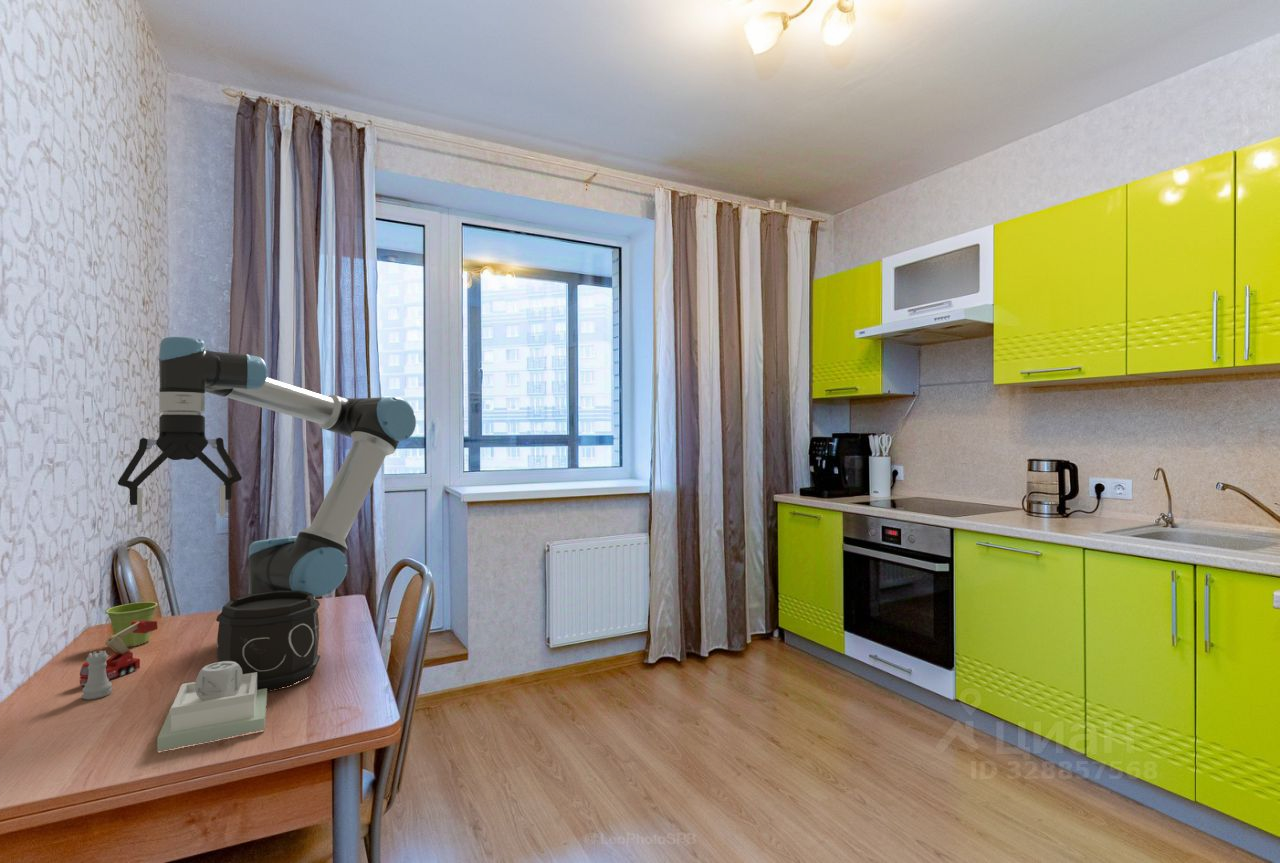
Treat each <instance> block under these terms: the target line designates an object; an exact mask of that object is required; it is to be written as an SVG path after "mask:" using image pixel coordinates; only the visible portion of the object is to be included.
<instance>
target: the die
mask: <svg viewBox="0 0 1280 863" xmlns="http://www.w3.org/2000/svg"><path fill="white" fill-rule="evenodd" d="M242 677H243V673H242V668H241V667H240V666H239V665H238V664H237V663H236V662H233V661H223V662H218V661H217V662H213V663H210V664H206V665H205V666H204V667H202V668H201V669H200V670H199V672H198V674H197V676H196V679H195V682H196V683H195V691H196V694H197V696H198V697H199V698H200V699H201V700H203V701H206V700H212V699H217V698H223V697H229V696H234V695H235V694H236V693H237V692H238V691H239V689H240V686H241V683H242Z"/></svg>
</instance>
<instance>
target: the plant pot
mask: <svg viewBox="0 0 1280 863" xmlns="http://www.w3.org/2000/svg"><path fill="white" fill-rule="evenodd" d="M156 607H158V603H157V602H154V601H141V602H133V603H126V604H122V605H117V606H112V607H110V608H108V609H106V610H105V613H106V614H108V618H109V620H110V621H111V622H110V623H111V627H112V632H113V636H114V635H116V634H117V633H119V632H121V631H123V630H125V629H126V628H128V627H130V626H131V623H132V622H133V621H153V618H154V613H155V612H156ZM150 636H151V632H148V633H133V632H131V633H129V634H128V635H126V636H124V637H122V638H121V640H122V641H123V643H124V644H125V645H126V646H127V648H129V647H128V646H134V647H136V646H135V645H138V646H141V645H140V644H142V645H144V644H143V643H145V644H146V643H147V641H148V642H149V641H150Z"/></svg>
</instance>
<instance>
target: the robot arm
mask: <svg viewBox="0 0 1280 863" xmlns="http://www.w3.org/2000/svg"><path fill="white" fill-rule="evenodd" d="M205 343H206V342H204V340H203V339H199V338H194V337H188V336H187V337H185V336H168V337H165V338H162V340H161V341H160V344H159V346H160V347H159V350H158V351H159V352H158V361H159V362H158V366H159V367H158V370H159V372H158V373H159V392H158V393H159V394H158V395H159V402H158V405H159V408H158V409H159V410H158V411H159V412H160V413H162V414H161V415H160V416H158V418H159V419H158V425H159V426H158V427H159V428H158V429H159V430H158V434H159V435H158V438H157V439H152V438H146V437H142V438H140V439H139V442H138V448H137V450H136V452H135V454H134V455H133V457H132V459H131V460H130V462H129V463H128V465H127V466H126V468H125V470H124V471H123V472H122V474H121V476H120V477H119V479H118V480H117V485H118V486H120V487H125V488H128V490H129V504H130V506H136V508H137V509H136V516H137V517H136V522H137V523H142V522H143V487H139V486H140V485H141V484H142V483H143V482H144V481H145V480H146V479H147V478H149V476H150V475H152V473H153V472H154V471H155V470H156V469H158V468H159V467H160V465H162V463H164V462H165V461H166V460H167V459H170V460H173V461H179V460H185V461H187V460H188V461H191V460H195V459H196V458H197V459H198V460H200V462H202V463H203V464H204V465H205V466H206V467H207V468H208V469H209V470H210V471H211V472H212V473H213V474H215V476H216V477H218V478H219V479H220V480H221V481H222V482H223V484H219V516H220V517H226V501H227V500H232V494H233V493H232V490H233V488H232V485H233V484H235V483H236V482H240V481H241V480H242V479H243V478H242V475H241V474H240V471H239V470H238V468H237V467H236V465H235V463H234V462H233V460H232V458H231V457H230V454H228V452H227V450H226V449H225V444H224V439H223V438H222V437H217V438H210V439H209V438H206V417H205V416H204V415H202V413H205V411H206V408H205V407H206V406H205V405H206V396H205V395H206V394H205V393H209V394H212V395H215V396H220V397H224V398H227V399H232V400H235V401H237V402H241V403H245V404H249V405H252V406H255V407H258V408H263V409H266V410H270V411H273V412H275V413H276V412H277V413H279V414H283V415H287V416H291V417H295V418H298V419H302V420H305V421H308V422H312V423H315V424H317V425H318V426H319V428H321V429H323V430H326V431H330V432H333V433H336V434H339V435H342V436H345V437H348V438H351V439H352V441H353V443H352V445H351V447H350V449H349V450H348V453H347V455H346V456H345V459H344V461H343V462H342V465H341V466H340V468H339V470H338V471H337V474H336V476H335V477H334V479H333V482H332V484H331V486H330V487H329V490H328V491H327V493H326V495H325V497H324V499H323V501H322V503H321V505H320V507H319V509H317V510H318V511H317V513H316V515H315V517H314V518H313V519H312V521H311V523H310V526H309V527H308V528H304V529H303V530H300V531H299V532H298V534H297V535H291V536H283V537H276V538H269V539H267V538H266V539H261V540H256V541H253V542H251V543H250V545H249V547H248V553H247V554H248V555H247V560H248V595H251V594H259V593H266V592H273V591H304V592H308V593H312V594H313V595H314V598H318V597H324V596H326V595H328V594H330V593H333V591H336V589H338V587H339V586H341V584H342V582H344V580H345V577H346V575H347V572H348V564H347V561H348V560H347V558H346V553H347V552H348V549H349V547H348V545H347V543H346V542H347V541H346V539H347V537H348V535H349V533H350V530H351V528H352V526H353V524H354V522H355V520H356V518H357V516H358V514H359V512H360V510H361V508H362V506H363V504H364V502H365V499H366V497H367V496H368V494H369V491H370V489H371V488H372V486H373V483H374V481H375V479H376V477H377V475H378V473H379V471H380V468H381V467H382V465H383V463H384V461H385V458H386V457H387V456H390V455H393V454H395V451H396V450H397V447H398V445H399V443H400V442H402V441H406V440H407V439H409V438H411V437H412V435H413V434H414V432H415V430H416V424H417V417H416V415H415V414H414V413H415V411H414V409H413V407H412V405H411V404H410V403H409V402H408V401H406V400H405V399H403V398H401V397H398V396H390V395H386V396H382V397H360V398H358V397H356V398H354V397H353V398H351V397H350V398H349V397H345V396H339V395H336V394H330V395H328V396H327V395H324V394H321V393H318V392H315V391H313V390H310V389H309V390H308V389H306V388H302V387H299V386H297V385H293V384H290V383H287V382H284V381H280V380H277V379H274V378H271V377H269V376H268V368H267V364H266V361H265V360H264V359H263V358H262V357H260V356H257V355H252V354H251V355H250V354H248V353H245V354H241V353H232V352H222V351H220V352H219V351H213V350H207V348H206V344H205ZM208 445H210V446H211V448H212V449H216V451H217V453H218V455H219V457H220V458H221V460H222V461H223V463H224V465H225V466H226V468H227V470H228V471H229V473H230V475H231V476H230V477H229V476H228V475H226V473H224V471H223V470H222V469H221V468H219V467H218V466H217V465H216V464H215V462H213V461H212V460H211V459H210V458H209V457H208V456H207V455H206V454H205V453H204V452H203V450H204V449H205V448H206V447H207V446H208ZM153 446H157V447H158V449H159V450H160V451H161V452H162V453H160V454H159V455H158V456H157V457H156V458H155V459H154V460H153V461H151V463H150V464H148V466H147V467H146V468H144V470H142V472H140V474H139V475H137V476H136V477H135V478H134V479H133V480H129V479H130V477H131V476H132V474H133V472H134V471H135V470H136V468H137V466H138V465H139V463H140V461H141V460H142V458H143V457H144V456H145V454H146V451H147V450H150V449H152V447H153Z"/></svg>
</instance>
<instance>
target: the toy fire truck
mask: <svg viewBox="0 0 1280 863" xmlns="http://www.w3.org/2000/svg"><path fill="white" fill-rule="evenodd" d="M155 630H158V621H157V620H152V621H133V622H132V623H131V626H130V627H128V628H126V629H125V630H123V631H121V632H119V633H117V634H116V635H114V634H113V635H112V634H111V635H110V636H109V637H108V638H107V640H106V641H105V643H104V644H105V645H106V646H107V647H108V648H109V649H111V650H113V651H114V652H116V653H114V654H113V655H112V656H110V657H108V658H107V659H106V660H105V662H106V663H107V665H106V674H107V678H108V679H109V680H111V679H114V678H117V677H124V676H125V675H126V674H127V673H128V674H132V672H133V673H134V672H135V670H137V669H140V668H141V666H140V665H141V662H140V661H141V659H140V658H138V657H134V654H133V651H131V650H130V649H129V647H127V646H126V645H125V644H124V643H123V641H122V640H121V638H122V637H124V636H126V635H128V634H129V633H131V632H133V633H148V632H150V633H151V632H153V631H155ZM88 666H89V663H88V662H87V661H85V662H84V663H83V664H82V665H81V667H80V671H79V676H80V677H79V685H80V686H84V687H85V684H86V683H87V680H88V675H89V669H88V668H87V667H88Z"/></svg>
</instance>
